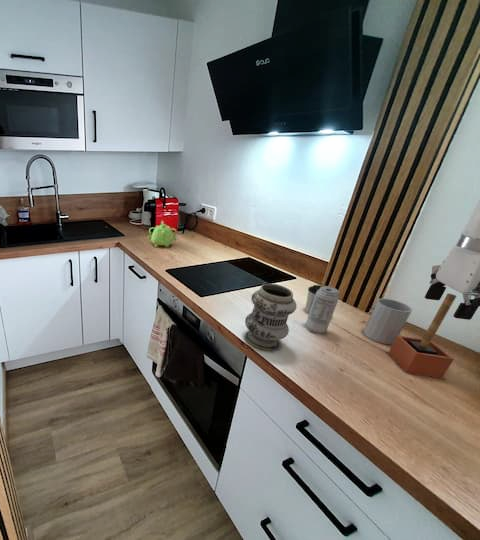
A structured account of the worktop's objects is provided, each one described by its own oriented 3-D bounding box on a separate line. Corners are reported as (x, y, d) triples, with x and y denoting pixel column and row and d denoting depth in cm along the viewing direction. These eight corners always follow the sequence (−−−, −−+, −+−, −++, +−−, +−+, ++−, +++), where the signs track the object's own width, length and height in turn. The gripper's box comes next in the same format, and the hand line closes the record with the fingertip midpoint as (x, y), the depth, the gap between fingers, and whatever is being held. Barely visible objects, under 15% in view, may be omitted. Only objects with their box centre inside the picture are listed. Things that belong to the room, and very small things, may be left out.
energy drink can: (329, 330, 95) (344, 290, 89) (320, 336, 92) (335, 295, 86) (310, 321, 100) (323, 283, 94) (301, 326, 97) (314, 287, 91)
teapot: (143, 242, 177) (144, 222, 172) (160, 239, 185) (162, 220, 179) (160, 250, 165) (162, 228, 160) (178, 246, 172) (180, 225, 167)
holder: (420, 358, 83) (430, 340, 81) (442, 378, 76) (454, 359, 74) (387, 353, 85) (397, 335, 83) (406, 372, 78) (416, 353, 75)
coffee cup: (315, 318, 102) (324, 294, 98) (297, 309, 107) (304, 285, 103) (327, 314, 104) (336, 290, 100) (309, 305, 110) (316, 282, 106)
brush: (417, 360, 82) (455, 292, 73) (427, 369, 78) (468, 299, 69) (400, 357, 83) (436, 290, 74) (409, 366, 79) (448, 297, 70)
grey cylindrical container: (385, 331, 95) (401, 300, 91) (401, 346, 88) (418, 313, 83) (358, 327, 97) (372, 296, 92) (371, 342, 90) (386, 309, 85)
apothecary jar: (264, 357, 82) (280, 303, 74) (233, 334, 91) (244, 284, 84) (292, 347, 86) (310, 294, 79) (259, 325, 96) (272, 277, 89)
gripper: (541, 259, 58) (495, 329, 65) (469, 236, 73) (437, 294, 80) (495, 255, 59) (455, 324, 66) (434, 233, 75) (406, 291, 82)
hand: (445, 308), depth 73 cm, fingers open, 9 cm apart
